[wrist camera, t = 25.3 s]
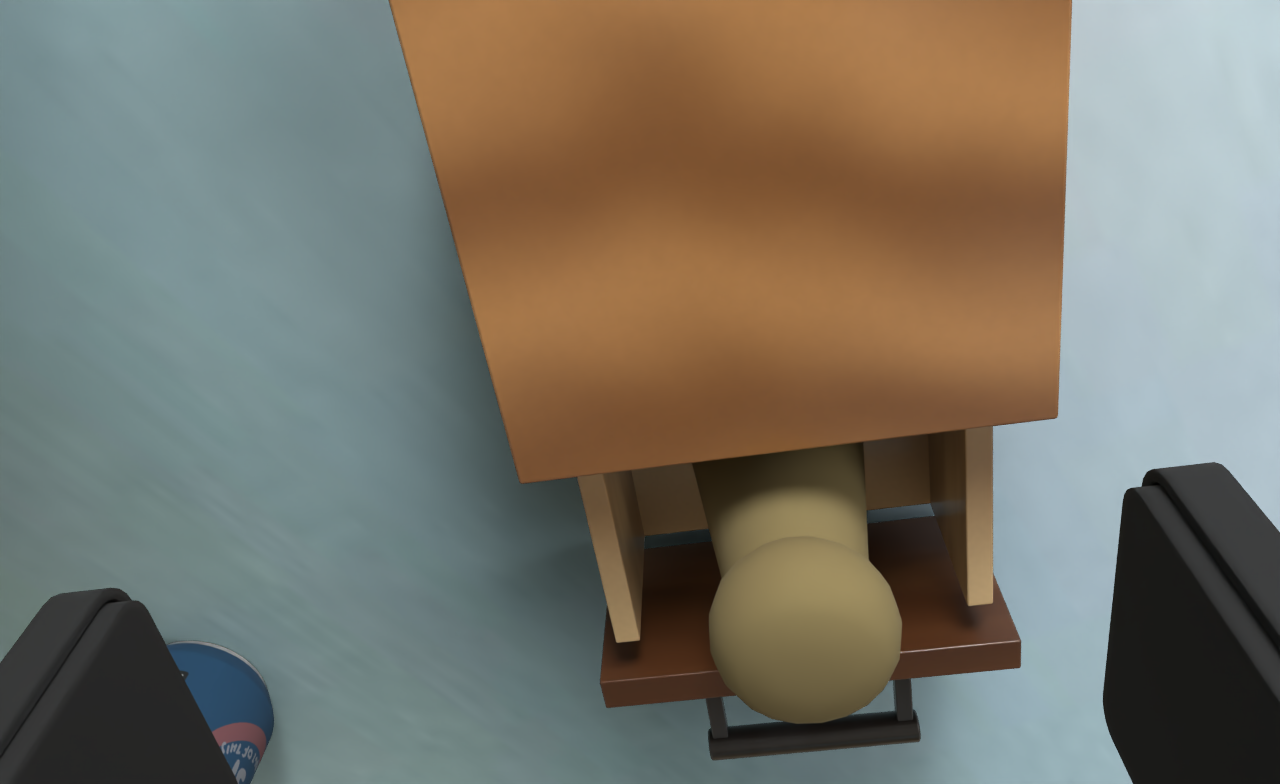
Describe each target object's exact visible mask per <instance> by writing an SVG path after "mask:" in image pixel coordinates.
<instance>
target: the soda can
mask: <svg viewBox="0 0 1280 784" xmlns="http://www.w3.org/2000/svg"><path fill="white" fill-rule="evenodd" d="M166 646H167V648H168V650H169V651H170V653H171V655H172V657H173V659H174V661H175V663H176V665H177V667H178V669H179V670H180V672H181V674H182V676H183V678H184V680H185V682H186V684H187V686H188V688H189V689H190V691H191V693H192V695H193V697H194V699H195V701H196V703H197V705H198V707H199V709H200V710H201V712H202V714H203V716H204V718H205V720H206V722H207V724H208V726H209V728H210V729H211V731H212V733H213V735H214V737H215V739H216V741H217V743H218V745H219V747H220V748H221V750H222V752H223V754H224V756H225V758H226V760H227V762H228V764H229V766H230V768H231V769H232V771H233V773H234V775H235V777H236V780H237V782H238V784H250V783H251V781H252V779H253V776H254V774H255V772H256V770H257V767H258V765H259V763H260V761H261V758H262V756H263V754H264V752H265V749H266V747H267V745H268V743H269V740H270V738H271V735H272V732H273V727H274V715H273V709H272V704H271V700H270V697H269V693H268V690H267V687H266V684H265V682H264V680H263V678H262V676H261V675H260V673H259V672H258V671H257V670H256V668H255V667H254V666H253V665H252V664H251V663H249V662H248V661H247V660H246V659H244V658H243V657H242V656H240V655H238V654H237V653H235V652H233V651H231V650H229V649H227V648H224V647H222V646H219V645H216V644H212V643H207V642H201V641H180V642H175V643H171V644H168V645H166Z"/></svg>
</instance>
